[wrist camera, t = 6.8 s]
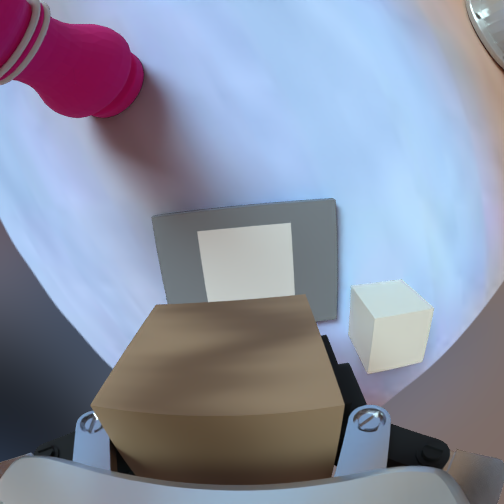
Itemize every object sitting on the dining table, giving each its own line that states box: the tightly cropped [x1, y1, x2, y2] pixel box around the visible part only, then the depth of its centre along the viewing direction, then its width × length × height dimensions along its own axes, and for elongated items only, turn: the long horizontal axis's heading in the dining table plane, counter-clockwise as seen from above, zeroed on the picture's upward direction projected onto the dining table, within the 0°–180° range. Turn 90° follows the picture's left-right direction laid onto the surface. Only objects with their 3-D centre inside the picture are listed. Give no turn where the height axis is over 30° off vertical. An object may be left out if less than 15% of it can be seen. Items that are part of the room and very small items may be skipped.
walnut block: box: [91, 294, 345, 485], centre depth 9 cm, size 6×6×6 cm
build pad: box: [152, 198, 337, 321], centre depth 23 cm, size 14×10×1 cm
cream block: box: [348, 279, 434, 374], centre depth 22 cm, size 5×5×6 cm
